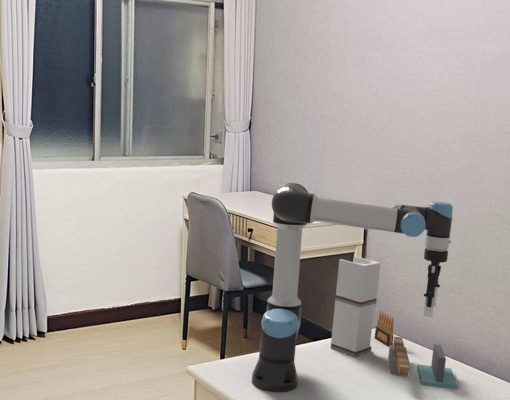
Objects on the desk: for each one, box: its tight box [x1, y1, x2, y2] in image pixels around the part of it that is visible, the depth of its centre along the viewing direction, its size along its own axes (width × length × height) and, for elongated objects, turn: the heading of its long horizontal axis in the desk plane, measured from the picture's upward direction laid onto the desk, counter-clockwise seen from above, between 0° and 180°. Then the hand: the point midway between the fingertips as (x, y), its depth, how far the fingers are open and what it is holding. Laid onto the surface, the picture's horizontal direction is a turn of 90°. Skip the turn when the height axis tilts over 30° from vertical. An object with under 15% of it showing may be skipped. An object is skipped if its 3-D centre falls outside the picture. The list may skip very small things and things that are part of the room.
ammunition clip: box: [374, 310, 394, 348], centre depth 280 cm, size 11×2×12 cm, turn 22°
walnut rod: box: [393, 336, 410, 377], centre depth 248 cm, size 32×3×3 cm, turn 172°
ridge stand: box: [416, 344, 459, 390], centre depth 246 cm, size 12×16×10 cm
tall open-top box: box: [330, 256, 381, 358], centre depth 266 cm, size 11×11×35 cm
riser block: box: [387, 345, 410, 376], centre depth 254 cm, size 6×16×5 cm, turn 172°
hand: (429, 311), depth 234 cm, fingers open, 13 cm apart
